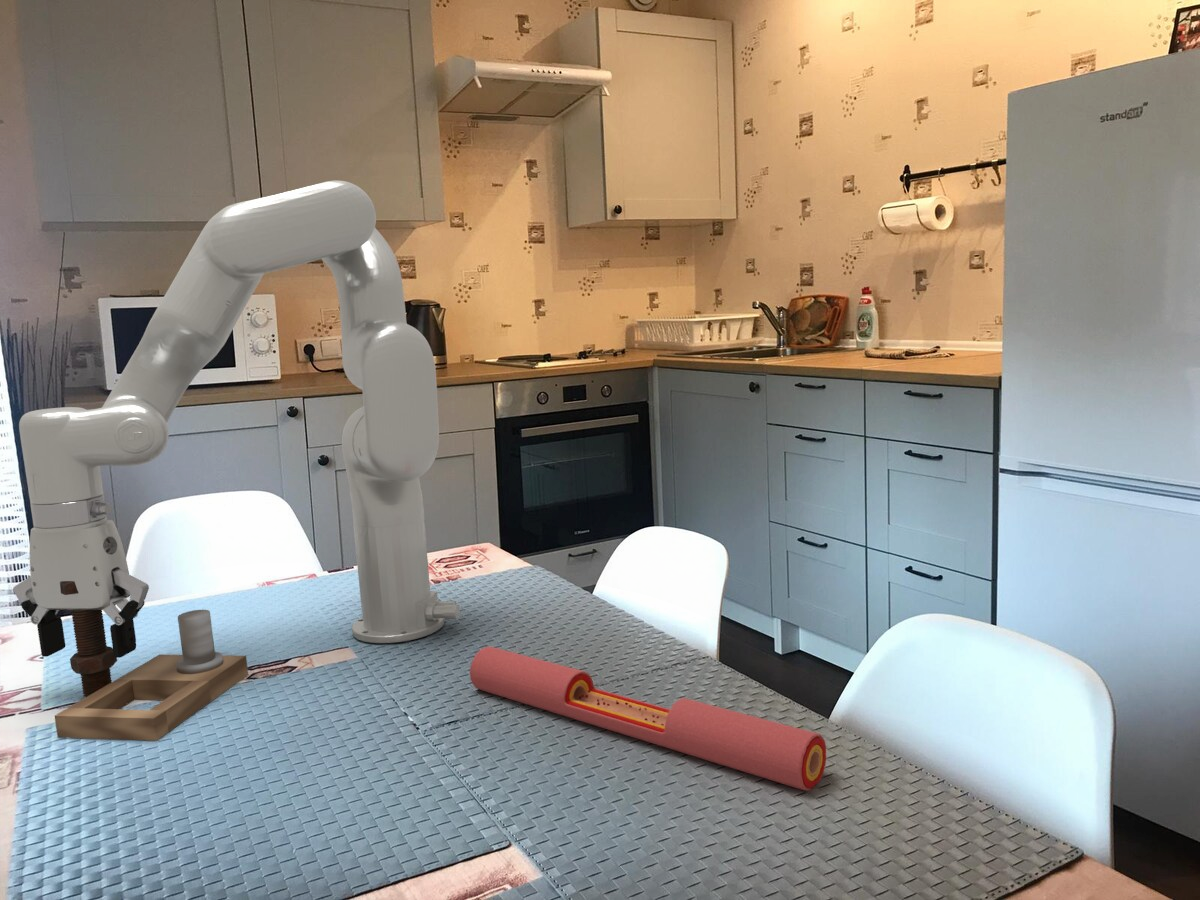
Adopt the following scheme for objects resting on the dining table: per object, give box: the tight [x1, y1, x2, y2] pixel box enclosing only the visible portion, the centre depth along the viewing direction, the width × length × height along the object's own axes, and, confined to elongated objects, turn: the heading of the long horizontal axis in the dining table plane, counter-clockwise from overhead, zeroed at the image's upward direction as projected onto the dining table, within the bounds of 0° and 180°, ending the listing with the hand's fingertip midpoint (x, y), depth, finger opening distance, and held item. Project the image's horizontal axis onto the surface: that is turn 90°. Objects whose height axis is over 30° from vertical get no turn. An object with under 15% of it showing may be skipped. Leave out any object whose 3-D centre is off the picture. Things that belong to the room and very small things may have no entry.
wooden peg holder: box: [54, 609, 249, 742], centre depth 109 cm, size 12×18×9 cm, turn 170°
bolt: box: [60, 581, 118, 698], centre depth 112 cm, size 6×5×15 cm
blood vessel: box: [469, 646, 827, 792], centre depth 96 cm, size 42×5×5 cm, turn 50°
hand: (89, 652), depth 113 cm, fingers open, 9 cm apart
